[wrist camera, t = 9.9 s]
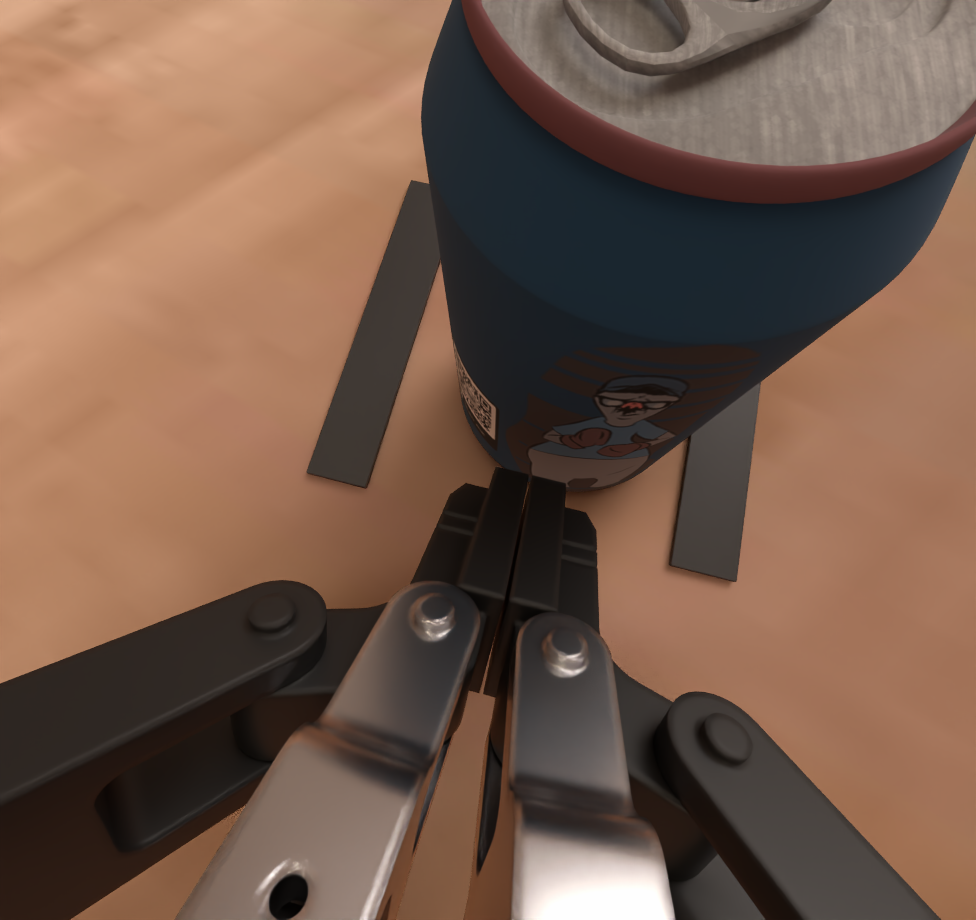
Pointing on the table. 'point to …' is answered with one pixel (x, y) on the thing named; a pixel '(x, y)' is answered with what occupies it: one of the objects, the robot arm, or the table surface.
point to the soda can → (674, 202)
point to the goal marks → (383, 358)
